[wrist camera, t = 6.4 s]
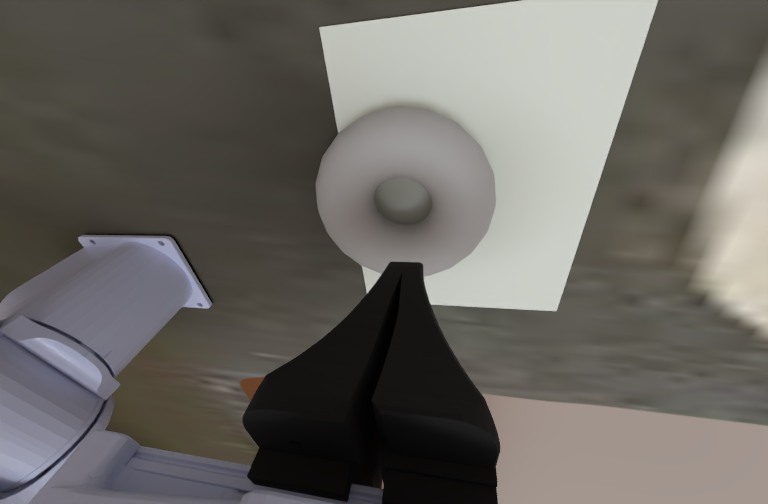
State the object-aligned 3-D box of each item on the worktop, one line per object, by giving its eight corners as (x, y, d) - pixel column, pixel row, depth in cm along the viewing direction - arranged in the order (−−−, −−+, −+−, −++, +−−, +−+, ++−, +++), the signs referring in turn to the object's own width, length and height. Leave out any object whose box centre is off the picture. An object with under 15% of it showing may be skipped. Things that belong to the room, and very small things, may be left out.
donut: (343, 254, 23) (485, 258, 20) (327, 285, 20) (489, 294, 18) (310, 107, 17) (503, 91, 15) (281, 123, 14) (514, 106, 12)
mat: (369, 297, 25) (368, 301, 25) (321, 27, 15) (319, 27, 14) (554, 307, 22) (556, 311, 22) (658, -18, 12) (663, -19, 12)
